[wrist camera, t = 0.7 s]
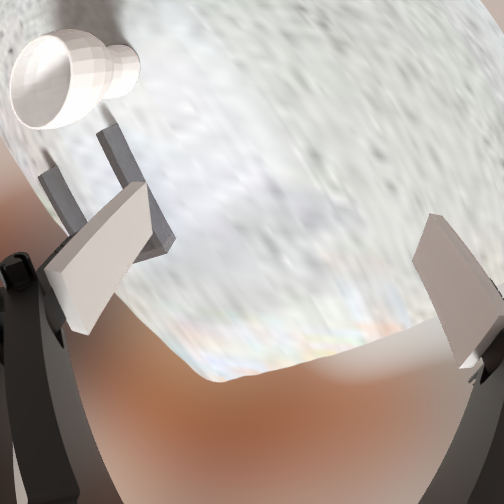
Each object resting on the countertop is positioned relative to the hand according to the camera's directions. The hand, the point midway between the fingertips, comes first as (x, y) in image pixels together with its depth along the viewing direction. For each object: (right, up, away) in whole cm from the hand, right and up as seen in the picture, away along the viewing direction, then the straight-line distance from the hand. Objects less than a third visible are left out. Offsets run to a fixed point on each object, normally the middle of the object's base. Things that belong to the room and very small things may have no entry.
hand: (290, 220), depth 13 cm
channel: (-24, +7, +28) cm, 37 cm away
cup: (-20, +22, +17) cm, 34 cm away
